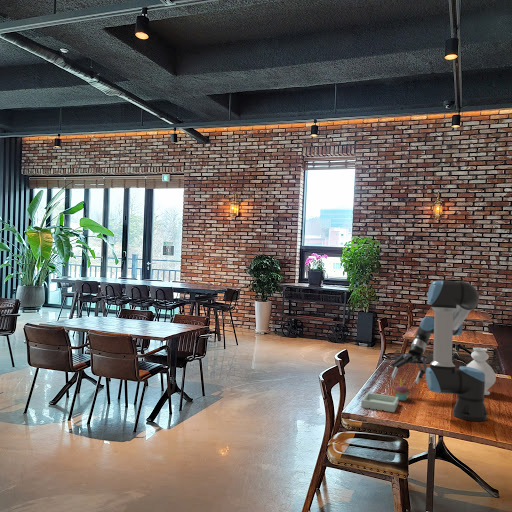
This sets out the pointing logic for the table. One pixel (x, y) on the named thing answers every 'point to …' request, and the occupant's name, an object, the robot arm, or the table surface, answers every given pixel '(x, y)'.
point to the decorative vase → (483, 367)
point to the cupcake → (401, 391)
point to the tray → (379, 402)
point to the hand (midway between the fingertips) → (404, 380)
